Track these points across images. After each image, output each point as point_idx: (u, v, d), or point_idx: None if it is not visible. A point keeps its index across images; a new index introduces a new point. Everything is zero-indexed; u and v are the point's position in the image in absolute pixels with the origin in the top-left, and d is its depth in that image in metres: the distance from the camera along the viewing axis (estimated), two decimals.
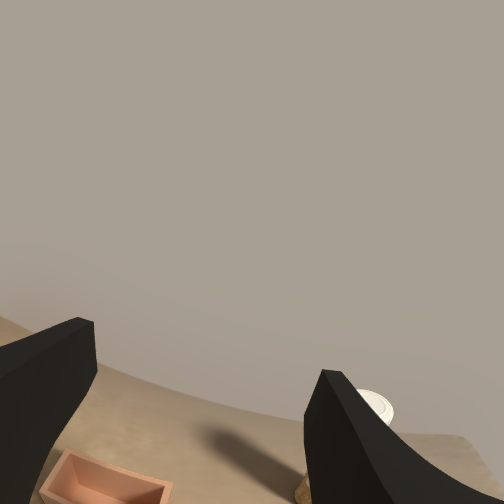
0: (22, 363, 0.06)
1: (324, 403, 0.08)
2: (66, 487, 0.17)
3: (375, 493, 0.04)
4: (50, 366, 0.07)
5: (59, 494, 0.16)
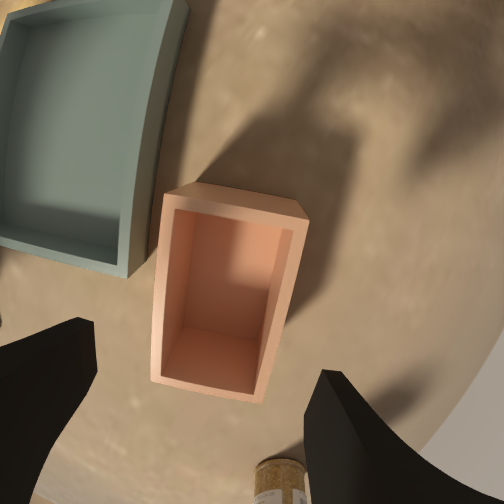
0: (22, 363, 0.06)
1: (324, 403, 0.08)
2: None
3: (375, 493, 0.04)
4: (50, 366, 0.07)
5: None
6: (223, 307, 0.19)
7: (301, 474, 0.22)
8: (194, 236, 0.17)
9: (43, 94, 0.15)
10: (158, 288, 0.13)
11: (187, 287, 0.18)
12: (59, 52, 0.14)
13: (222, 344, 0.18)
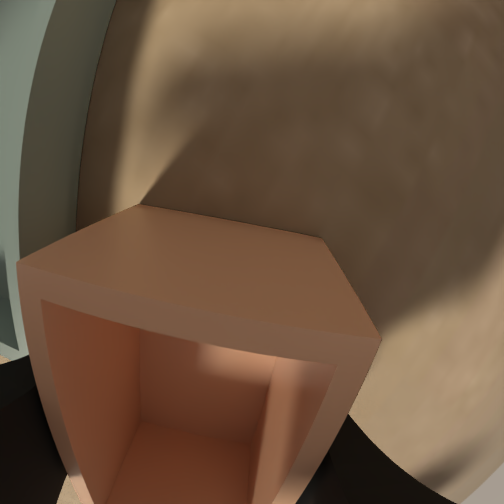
0: None
1: None
2: None
3: (335, 495, 0.04)
4: None
5: None
6: (197, 404, 0.11)
7: None
8: None
9: None
10: (56, 432, 0.05)
11: (138, 375, 0.10)
12: None
13: (197, 456, 0.10)
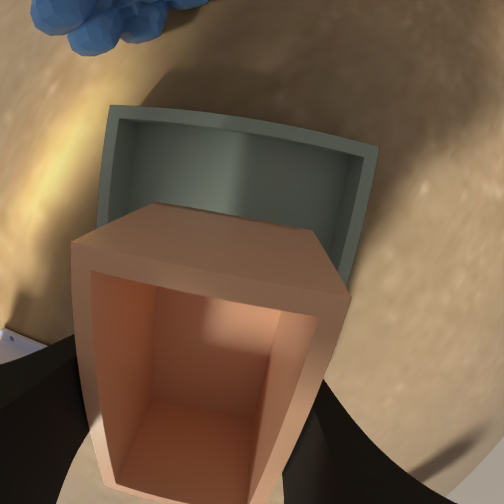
0: (47, 374, 0.06)
1: None
2: None
3: (335, 495, 0.04)
4: (74, 375, 0.07)
5: None
6: (204, 380, 0.12)
7: None
8: None
9: None
10: (87, 391, 0.07)
11: (152, 353, 0.12)
12: (195, 173, 0.16)
13: (204, 428, 0.12)
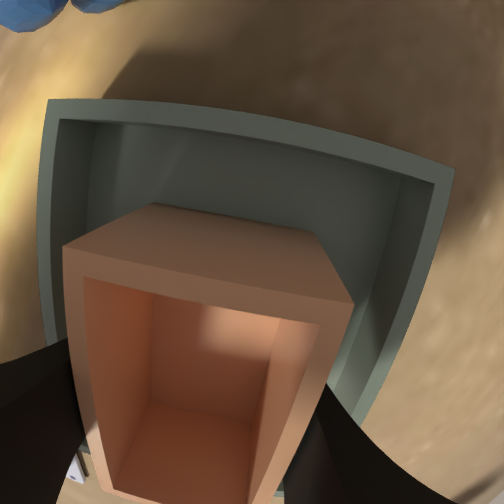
0: (47, 374, 0.06)
1: None
2: None
3: (336, 495, 0.04)
4: None
5: None
6: (203, 383, 0.12)
7: None
8: None
9: None
10: (82, 398, 0.07)
11: (150, 357, 0.12)
12: (176, 197, 0.11)
13: (202, 432, 0.12)
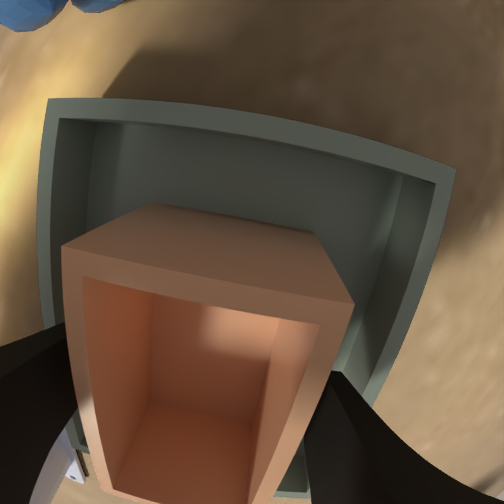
0: (22, 363, 0.06)
1: (324, 403, 0.08)
2: None
3: (375, 493, 0.04)
4: (50, 366, 0.07)
5: None
6: (203, 383, 0.12)
7: None
8: None
9: None
10: (82, 398, 0.07)
11: (149, 357, 0.12)
12: (176, 197, 0.11)
13: (202, 432, 0.12)
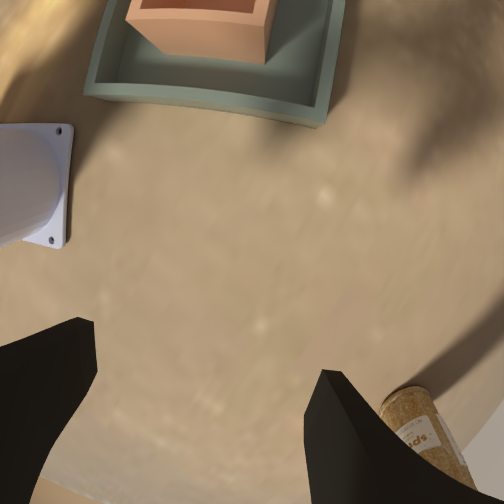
0: (22, 363, 0.06)
1: (324, 403, 0.08)
2: None
3: (375, 493, 0.04)
4: (50, 366, 0.07)
5: None
6: None
7: (432, 402, 0.20)
8: None
9: None
10: None
11: (183, 2, 0.13)
12: None
13: None
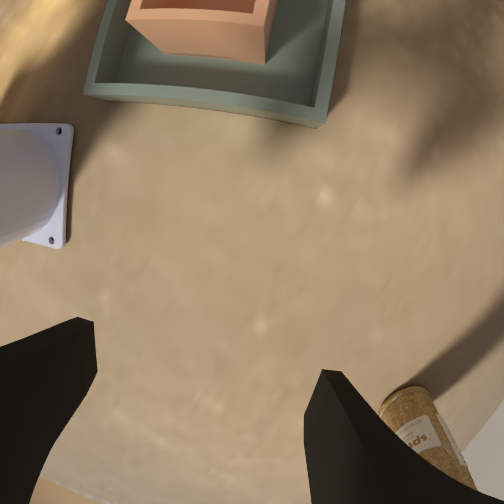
0: (22, 363, 0.06)
1: (324, 403, 0.08)
2: None
3: (375, 493, 0.04)
4: (50, 366, 0.07)
5: None
6: None
7: (432, 402, 0.20)
8: None
9: None
10: None
11: (183, 2, 0.13)
12: None
13: None
